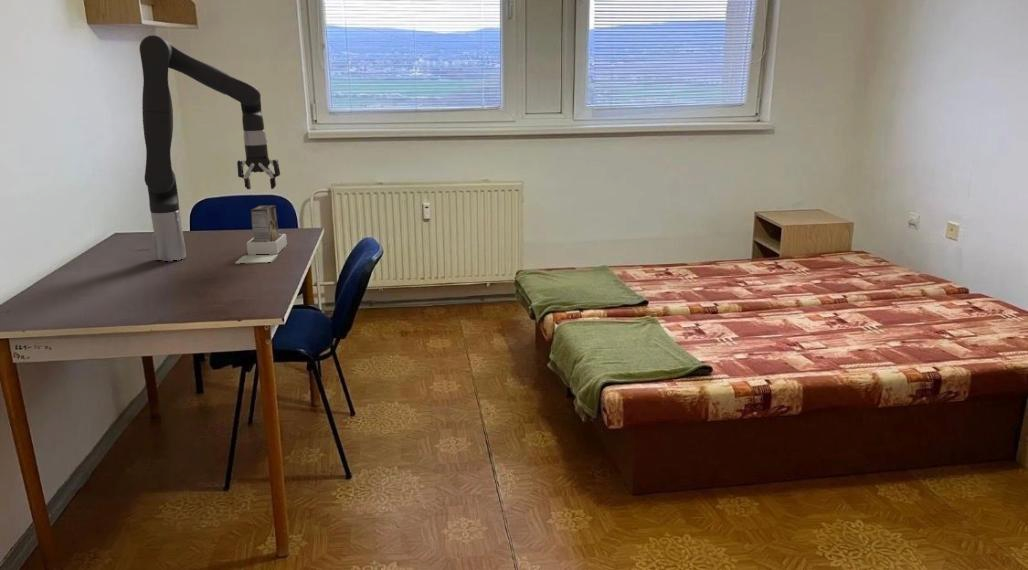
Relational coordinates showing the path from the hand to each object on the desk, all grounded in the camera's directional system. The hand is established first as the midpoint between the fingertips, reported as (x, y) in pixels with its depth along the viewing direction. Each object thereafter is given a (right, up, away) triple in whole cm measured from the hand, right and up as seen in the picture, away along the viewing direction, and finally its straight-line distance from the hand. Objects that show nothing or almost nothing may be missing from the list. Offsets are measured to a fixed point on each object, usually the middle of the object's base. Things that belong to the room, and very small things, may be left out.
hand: (260, 188), depth 263 cm
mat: (+1, -26, -7) cm, 27 cm away
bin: (0, -22, +7) cm, 23 cm away
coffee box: (0, -22, +7) cm, 23 cm away
